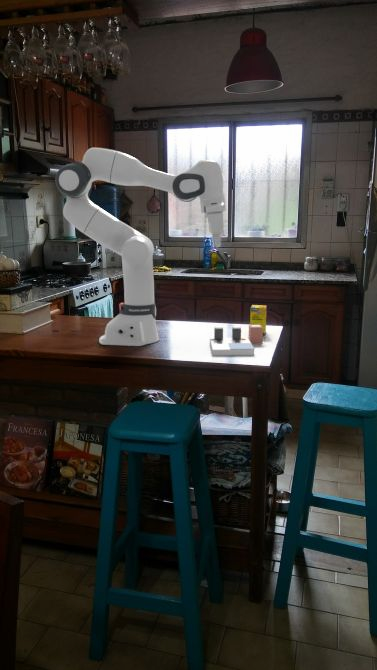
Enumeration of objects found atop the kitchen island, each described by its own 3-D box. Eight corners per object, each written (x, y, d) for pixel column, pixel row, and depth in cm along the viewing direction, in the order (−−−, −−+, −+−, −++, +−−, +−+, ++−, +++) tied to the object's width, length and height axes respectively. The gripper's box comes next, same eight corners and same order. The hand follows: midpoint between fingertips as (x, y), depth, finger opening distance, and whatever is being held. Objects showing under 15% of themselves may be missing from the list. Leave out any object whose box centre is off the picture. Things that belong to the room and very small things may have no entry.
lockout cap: (250, 343, 198) (250, 327, 197) (248, 340, 202) (248, 324, 201) (262, 343, 198) (262, 326, 197) (260, 340, 203) (260, 324, 201)
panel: (212, 355, 182) (212, 348, 181) (209, 343, 199) (210, 337, 198) (254, 354, 182) (254, 348, 182) (247, 342, 199) (247, 336, 198)
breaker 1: (214, 339, 194) (214, 328, 194) (214, 338, 197) (214, 327, 196) (223, 339, 195) (223, 328, 194) (222, 338, 197) (222, 327, 196)
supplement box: (265, 335, 211) (265, 307, 208) (249, 334, 212) (250, 307, 209) (266, 332, 216) (266, 305, 214) (251, 331, 217) (251, 304, 215)
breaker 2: (232, 339, 195) (232, 328, 194) (232, 338, 197) (232, 327, 196) (240, 339, 195) (241, 328, 194) (240, 337, 197) (240, 327, 196)
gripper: (203, 208, 202) (207, 245, 206) (205, 208, 182) (210, 249, 186) (219, 206, 202) (223, 243, 206) (224, 205, 182) (228, 246, 186)
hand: (217, 245), depth 195 cm, fingers open, 8 cm apart
